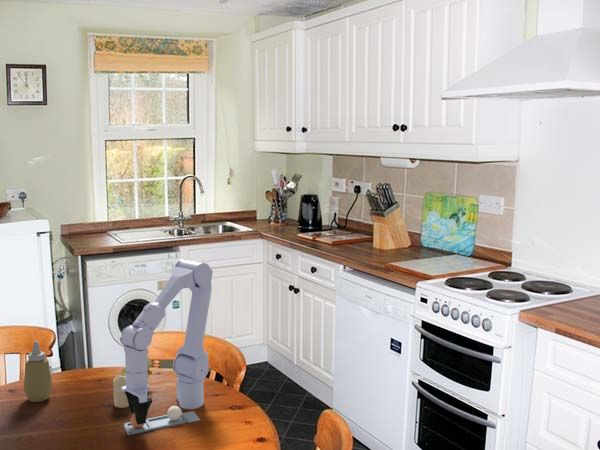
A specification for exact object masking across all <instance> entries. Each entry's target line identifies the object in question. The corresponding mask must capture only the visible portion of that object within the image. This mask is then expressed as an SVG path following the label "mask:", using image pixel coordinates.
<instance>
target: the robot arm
mask: <svg viewBox="0 0 600 450" xmlns="http://www.w3.org/2000/svg"><path fill="white" fill-rule="evenodd" d="M213 272H214V271H213V270H212V268H211V267H210V266H209V264H208V263H206V262H198V261H194V260H188V259H186V258H182V259H179V260H178V261H177V262H175V265H174V267H172V268H171V272H170V273H171V275H170V277H169V279H168V281H167V282H166V283H165V285H164V287H162V290H161V291H160V292H159V294H158V296H157V298H156V299H155V300H154V302H149V303H147V304H146V305H144V307H143V309H142V311H141V312H140V313H139V315H138V316H137V317H136V319H135V320H134V321H133V322H132V325H131V324H130V325H129V326H126V327H125V328H124V329H123V330H122V332H121V336H120V337H119V341H120V343H121V345H122V347H123V351H124V355H125V356H124V357H125V367H126V386H123V387H122V391H123V392H125V394H126V397H127V400H128V404H129V406H128V407H129V411H130V414H135V418H136V422H137V424H138V425H139V424H144V423H145V422H146V419H148V418H147V417H148V411H149V409H150V407H151V405H152V403H153V398H152V397H148V391H149V388H150V383H149V381H148V380H149V377H148V368H147V356H148V347H149V346H150V345H151V343H152V340H153V336H154V331H156V329H157V328H158V326H159V325H160V323H161V322H162V321H163V319H164V318H165V316H166V312H165V311H166V310H165V309H167V307H168V306H169V305H170V304H171V302H172V301H173V300H174V299H175V298H176V296H177V295H178V294H179V293H180V292H181V290H183V289H187V288H188V289H189V291H190V292H191V299H190V303H189V304H190V306H189V311H188V318H187V325H186V331H185V338H184V343H183V345H182V346H180V347H178V349H177V352H176V355H175V358H174V359H173V363H172V370H173V371H174V373H175V374H176V377H177V379H176V382H175V383H176V384H175V386H176V387H175V388H176V400H177V401H178V407H179V408H182V409H186V410H193V409H199V408H201V407H202V406H203V405H204V403H205V401H204V380H205V379H206V377H207V375H208V374H209V369H210V366H209V354H208V353H207V351H206V350H205V348H204V346H203V345H204V340H205V335H206V329H207V328H206V327H207V321H208V316H209V315H208V314H209V308H210V301H211V297H212V296H211V295H212V294H211V293H212V279H213ZM148 383H149V384H148Z"/></svg>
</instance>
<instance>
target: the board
mask: <svg viewBox="0 0 600 450" xmlns="http://www.w3.org/2000/svg"><path fill="white" fill-rule="evenodd" d="M198 421H201V419H200V417H199V416H198V415H197V414H196V412H195V411H193V410H192V411H187V412H182V415H181V417H180V418H179V419H178V420H176V421H172V420H170V419H169V418H168V416H167V414H164V415H159V416H154V417H149V418H146V422H145V424H144V426H142V427H141V428H134V427H133V426H132V425H131V421H130V422H124V423H123V428H124V430H125V432H126V434H127V435H128V436H131V435H134V434H139V433H145V432H150V431H154V430H159V429H165V428H167V427H174V426H179V425H184V424H189V423H192V422H198Z"/></svg>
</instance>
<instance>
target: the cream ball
mask: <svg viewBox="0 0 600 450" xmlns="http://www.w3.org/2000/svg"><path fill="white" fill-rule="evenodd" d="M182 413H183V412H182V409H181V407H180V406H179V405H178V406H177V405H172V406H170V407H169V408H168V409H167V412H166V415H167V416H168V418H169V419H170V420H172V421H176V420H178V419H179V418H180V417H181V415H182Z"/></svg>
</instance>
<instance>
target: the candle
mask: <svg viewBox="0 0 600 450" xmlns="http://www.w3.org/2000/svg"><path fill="white" fill-rule="evenodd" d="M112 381H113V382H112V383H113V384H112V385H113V389H112V391H113V405H114V407H115V408H121V409H124V408H128V407H129V404H128V400H127V397H126V394H125V392H123V391H122V387H123V386H126V374H121V373H118V374H116V376H115V377H114V378H113V380H112Z"/></svg>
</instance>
